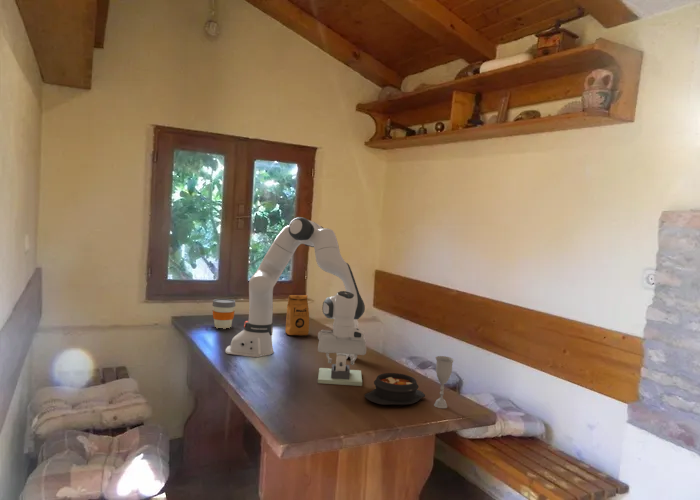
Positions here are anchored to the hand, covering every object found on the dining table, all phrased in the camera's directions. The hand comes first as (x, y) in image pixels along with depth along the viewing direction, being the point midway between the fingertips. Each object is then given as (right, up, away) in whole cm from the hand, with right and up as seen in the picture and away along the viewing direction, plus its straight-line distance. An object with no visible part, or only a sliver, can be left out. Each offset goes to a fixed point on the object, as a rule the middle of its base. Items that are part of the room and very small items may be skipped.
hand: (340, 363), depth 226 cm
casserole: (+21, -10, -20) cm, 30 cm away
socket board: (0, -7, +1) cm, 7 cm away
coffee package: (-26, +1, +73) cm, 77 cm away
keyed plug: (0, -5, 0) cm, 5 cm away
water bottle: (+3, -5, +33) cm, 34 cm away
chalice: (+38, -11, -23) cm, 45 cm away
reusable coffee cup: (-68, +4, +78) cm, 103 cm away
